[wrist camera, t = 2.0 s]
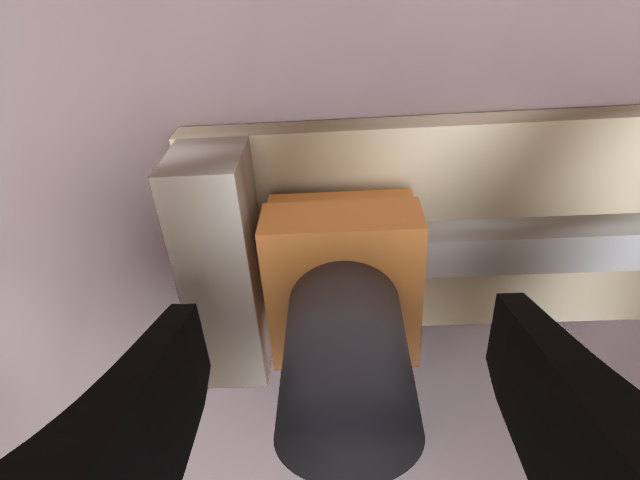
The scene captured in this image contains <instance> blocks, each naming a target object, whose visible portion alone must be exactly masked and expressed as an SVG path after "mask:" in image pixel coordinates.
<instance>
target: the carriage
mask: <svg viewBox="0 0 640 480" xmlns="http://www.w3.org/2000/svg"><path fill="white" fill-rule="evenodd" d="M428 229H429V228H428V225H427V222H426V219H425V216H424V213H423V210H422V207H421V204H420V201H419V198H418V197H414V196H413V193H412V190H411V189H389V190H365V191H341V192H318V193H294V194H271V195H269V197H268V201H267V203H263V204H262V208H261V212H260V216H259V221H258V225H257V229H256V233H255V240H256V247H257V253H258V260H259V267H260V274H261V281H262V288H263V295H264V302H265V309H266V316H267V323H268V330H269V337H270V343H271V350H272V357H273V364H274V371H276V370H281V378H280V387H279V396H278V405H277V414H276V424H275V433H274V447H275V451H276V453H277V455H278V457H279V459H280V460H281V462H282V463H283V464H284V465H285V466H286V467H287V468H288V469H289V470H290V471H292V472H293V473H294V474H296V475H298V476H299V477H301V478H303V479H305V480H393V479H395V478H397V477H399V476H400V475H402V474H404V473H405V472H406V471H408V470H409V469H410V468H411V467H412V466H413V465H414V464H415V463H416V462H417V461H418V459H419V458H420V456H421V454H422V452H423V449H424V445H425V434H424V429H423V424H422V418H421V413H420V408H419V402H418V397H417V392H416V386H415V381H414V375H413V370H412V367H419V364H420V349H421V334H422V319H423V304H424V289H425V274H426V259H427V244H428Z"/></svg>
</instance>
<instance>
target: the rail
mask: <svg viewBox="0 0 640 480" xmlns="http://www.w3.org/2000/svg"><path fill="white" fill-rule="evenodd" d="M169 142H170V148H169V150H168V151H167V152H166V154H165V155H164V156H163V158H162V159H161V161H160V162H159V163H158V165H157V166H156V167H155V169H154V170H153V172H152V173H151V174H150V176H149V177H148V180H149V184H150V188H151V191H152V195H153V199H154V203H155V207H156V211H157V215H158V219H159V223H160V227H161V230H162V234H163V238H164V242H165V246H166V250H167V254H168V258H169V262H170V265H171V269H172V273H173V277H174V281H175V285H176V289H177V293H178V297H179V300H180V304H195V303H196V304H197V309H198V313H199V317H200V321H201V325H202V330H203V334H204V338H205V342H206V347H207V351H208V355H209V359H210V364H211V369H210V376H209V382H208V388H238V387H268V380H269V372H270V365H271V358H272V350H271V343H270V337H269V330H268V323H267V316H266V309H265V302H264V295H263V288H262V281H261V274H260V267H259V260H258V253H257V247H256V240H255V233H256V229H257V225H258V221H259V216H260V212H261V208H262V204H263V203H267V201H268V197H269V195H271V194H294V193H318V192H341V191H365V190H389V189H411V190H412V193H413V196H414V197H418V198H419V201H420V204H421V207H422V210H423V213H424V216H425V219H426V222H427V225H428V228H429V229H428V244H427V259H426V274H425V289H424V304H423V319H422V326H438V325H471V324H492V318H493V312H494V306H495V300H496V293H525V294H526V295H527V296H528V297H529V298H530V299H531V300H533V301H534V302H535V303H536V304H537V305H538V306H539V307H540V308H541V309H543V310H544V311H545V312H546V313H547V314H548V315H549V316H550V317H551V318H552V319H554V320H555V321H556V322H569V321H601V320H634V319H640V105H623V106H602V107H582V108H561V109H541V110H520V111H500V112H479V113H459V114H438V115H418V116H397V117H377V118H356V119H336V120H315V121H295V122H274V123H253V124H233V125H212V126H192V127H178V128H177V129H176V131H175V132H174V133H173V135H172V136H171V137H170V139H169Z"/></svg>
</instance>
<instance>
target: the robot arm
mask: <svg viewBox="0 0 640 480" xmlns="http://www.w3.org/2000/svg"><path fill="white" fill-rule="evenodd" d="M486 360H487V364H488V369H489V373H490V377H491V381H492V385H493V389H494V392H495V396H496V399H497V402H498V405H499V407H500V410H501V413H502V415H503V418H504V420H505V423H506V425H507V428H508V431H509V433H510V436H511V438H512V441H513V443H514V446H515V448H516V451H517V453H518V456H519V458H520V461H521V463H522V466H523V469H524V471H525V474H526V476H527V479H528V480H640V390H639V389H637V388H636V387H635V386H633V385H632V384H631V383H630V382H628V381H627V380H626V379H624V378H623V377H622V376H620V375H619V374H618V373H616V372H615V371H614V370H613V369H611V368H610V367H609V366H607V365H606V364H605V363H604V362H602V361H601V360H600V359H599V358H598V357H596V356H595V355H594V354H593V353H591V352H590V351H589V350H588V349H587V348H586V347H584V346H583V345H582V344H581V343H580V342H579V341H577V340H576V339H575V338H574V337H573V336H572V335H570V334H569V333H568V332H567V331H566V330H565V329H564V328H563V327H561V326H560V325H559V324H558V323H557V322H556V321H555V320H554V319H552V318H551V317H550V316H549V315H548V314H547V313H546V312H545V311H544V310H543V309H541V308H540V307H539V306H538V305H537V304H536V303H535V302H534V301H533V300H531V299H530V298H529V297H528V296H527V295H526V294H525V293H496V300H495V306H494V312H493V318H492V324H491V330H490V337H489V343H488V349H487V355H486ZM210 369H211V364H210V359H209V355H208V351H207V347H206V342H205V338H204V334H203V330H202V325H201V321H200V317H199V313H198V309H197V304H196V303H195V304H171V305H170V306H169V307H168V308H167V309H166V310H165V311H164V312H163V313H162V314H161V315H160V316H159V317H158V318H157V320H156V321H155V322H154V323H153V324H152V325H151V326H150V327H149V328H148V329H147V330H146V331H145V332H144V334H143V335H142V336H141V337H140V338H139V339H138V340H137V341H136V342H135V343H134V344H133V345H132V346H131V347H130V348H129V349H128V350H127V351H126V353H125V354H124V355H123V356H122V357H121V358H120V359H119V360H118V361H117V362H116V363H115V364H114V365H113V366H112V367H111V368H110V369H109V370H108V371H107V372H106V373H105V374H104V375H103V376H102V377H100V378H99V379H98V380H97V381H96V382H95V383H94V384H93V385H92V386H91V387H90V388H89V389H88V390H87V391H86V392H85V393H84V394H82V395H81V396H80V397H79V398H78V399H77V400H76V401H75V402H74V403H72V404H71V405H70V406H69V407H68V408H67V409H65V410H64V411H63V412H62V413H61V414H60V415H58V416H57V417H56V418H55V419H53V420H52V421H51V422H50V423H48V424H47V425H46V426H45V427H43V428H42V429H41V430H40V431H38V432H37V433H36V434H35V435H33V436H32V437H31V438H29V439H28V440H27V441H25V442H24V443H22V444H21V445H20V446H18V447H17V448H15V449H14V450H13V451H11V452H10V453H9V454H7V455H6V456H4V457H3V458H2V459H0V480H182V479H183V476H184V473H185V469H186V466H187V463H188V459H189V456H190V453H191V450H192V446H193V443H194V440H195V436H196V433H197V430H198V426H199V423H200V419H201V416H202V412H203V409H204V405H205V400H206V394H207V389H208V382H209V376H210Z"/></svg>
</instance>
